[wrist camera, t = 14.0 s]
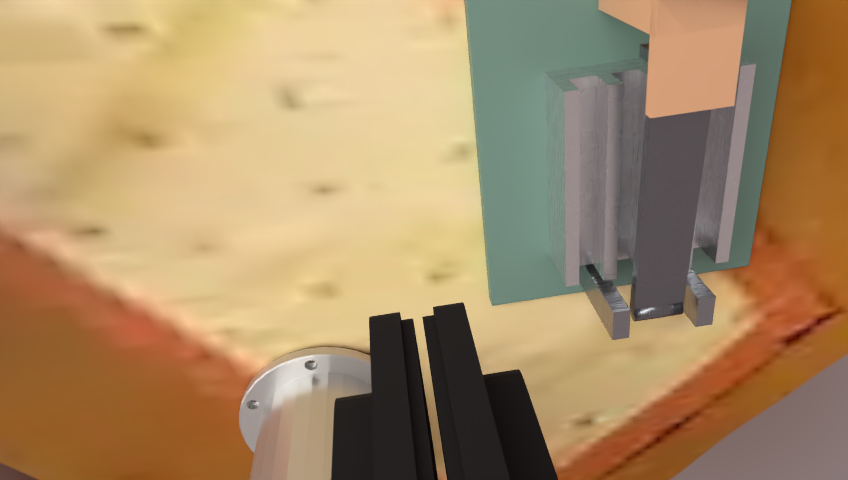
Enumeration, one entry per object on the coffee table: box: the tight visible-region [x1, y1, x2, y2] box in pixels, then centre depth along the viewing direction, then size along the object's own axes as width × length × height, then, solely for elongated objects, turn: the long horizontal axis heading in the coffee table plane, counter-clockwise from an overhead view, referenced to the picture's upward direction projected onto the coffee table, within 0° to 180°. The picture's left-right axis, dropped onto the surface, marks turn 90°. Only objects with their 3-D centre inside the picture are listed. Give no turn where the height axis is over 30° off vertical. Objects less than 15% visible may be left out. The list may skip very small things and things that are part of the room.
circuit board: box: [464, 0, 792, 306], centre depth 38 cm, size 22×18×1 cm
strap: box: [630, 43, 711, 321], centre depth 34 cm, size 16×3×2 cm, turn 7°
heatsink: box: [544, 57, 756, 340], centre depth 36 cm, size 14×10×6 cm
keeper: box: [598, 0, 748, 118], centre depth 31 cm, size 6×4×7 cm
